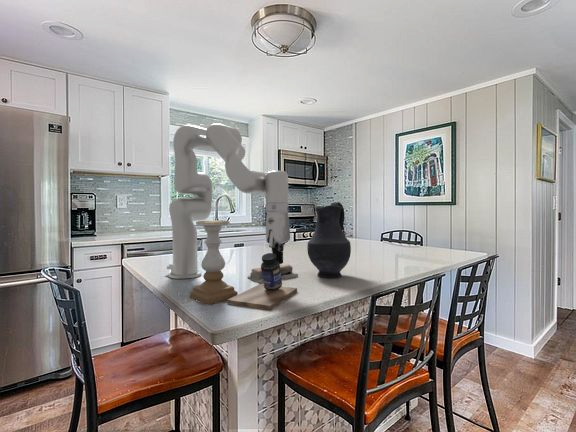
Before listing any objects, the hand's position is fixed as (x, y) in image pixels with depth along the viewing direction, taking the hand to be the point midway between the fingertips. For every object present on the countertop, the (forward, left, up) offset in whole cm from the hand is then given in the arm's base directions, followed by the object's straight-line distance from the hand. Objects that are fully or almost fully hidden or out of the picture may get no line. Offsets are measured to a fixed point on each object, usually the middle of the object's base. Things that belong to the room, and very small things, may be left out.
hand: (277, 263), depth 107 cm
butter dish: (-10, +18, -10) cm, 23 cm away
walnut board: (-1, -8, -9) cm, 12 cm away
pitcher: (+10, +31, -10) cm, 34 cm away
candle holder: (-16, -14, -10) cm, 23 cm away
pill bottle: (-1, -2, -7) cm, 8 cm away
